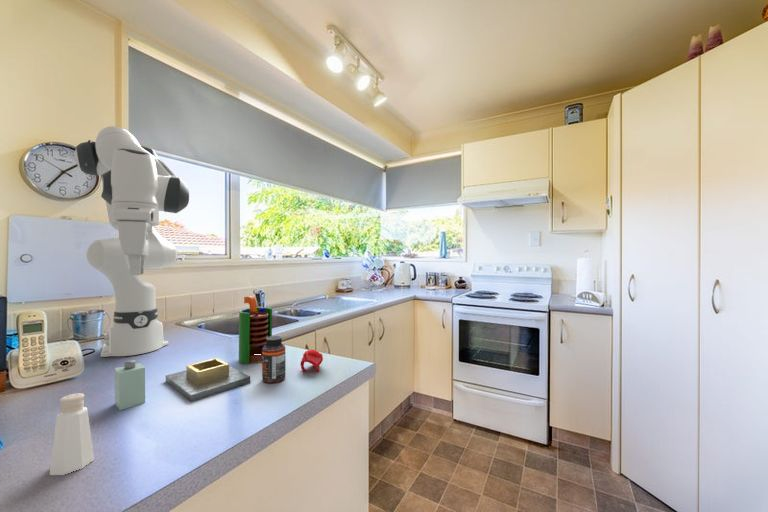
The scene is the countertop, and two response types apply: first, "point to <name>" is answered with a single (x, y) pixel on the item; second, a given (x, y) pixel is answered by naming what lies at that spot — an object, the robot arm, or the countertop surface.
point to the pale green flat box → (129, 385)
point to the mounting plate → (206, 379)
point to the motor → (253, 331)
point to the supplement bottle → (273, 360)
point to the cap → (312, 359)
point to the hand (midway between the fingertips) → (137, 274)
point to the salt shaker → (71, 437)
